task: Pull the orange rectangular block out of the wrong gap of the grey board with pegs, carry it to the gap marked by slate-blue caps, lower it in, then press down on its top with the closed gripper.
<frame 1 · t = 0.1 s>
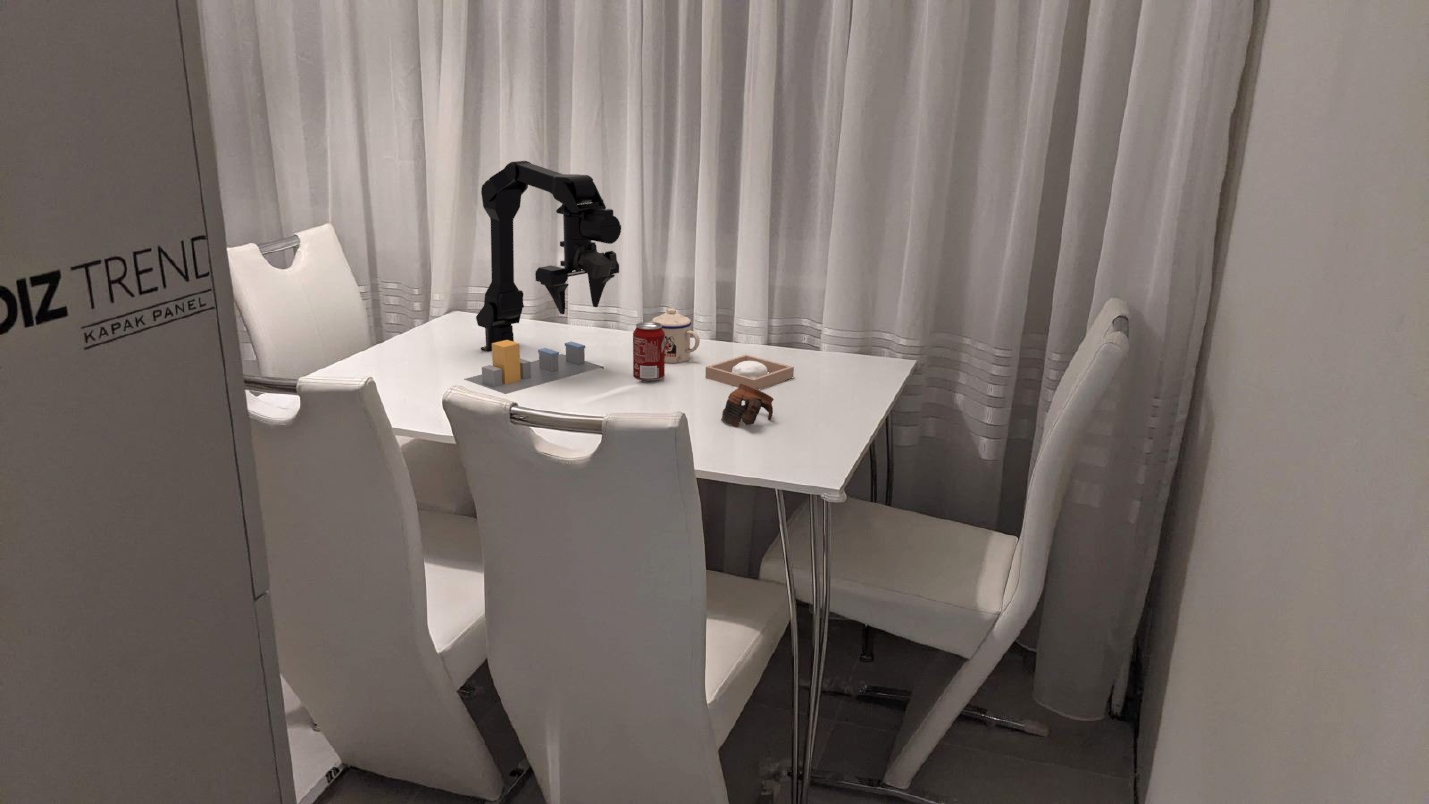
hand: (579, 310, 226), 15 cm above the table, fingers open, 9 cm apart
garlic: (748, 379, 233), resting in garlic dish
grey board with pegs: (535, 377, 230), on the table
garlic dish: (749, 377, 232), on the table
soda can: (648, 379, 230), on the table
teacup with lid: (676, 360, 245), on the table
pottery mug: (747, 423, 206), on the table
orange rectangular block: (507, 380, 224), point 1 cm above the table, touching grey board with pegs
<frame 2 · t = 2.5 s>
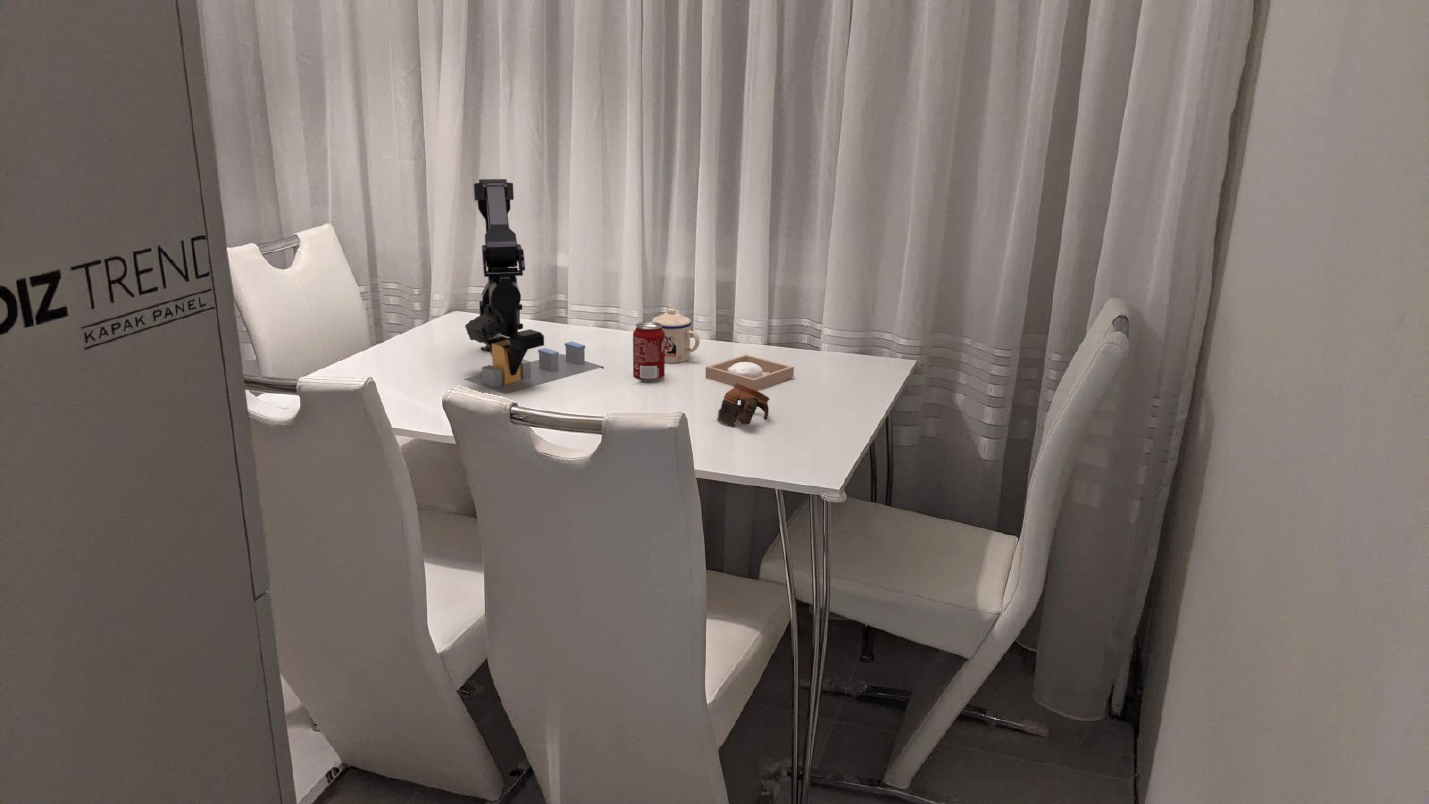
hand: (506, 372, 224), 3 cm above the table, fingers closed on orange rectangular block, 4 cm apart
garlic: (743, 381, 232), resting in garlic dish
orange rectangular block: (507, 380, 224), point 1 cm above the table, touching grey board with pegs, gripper
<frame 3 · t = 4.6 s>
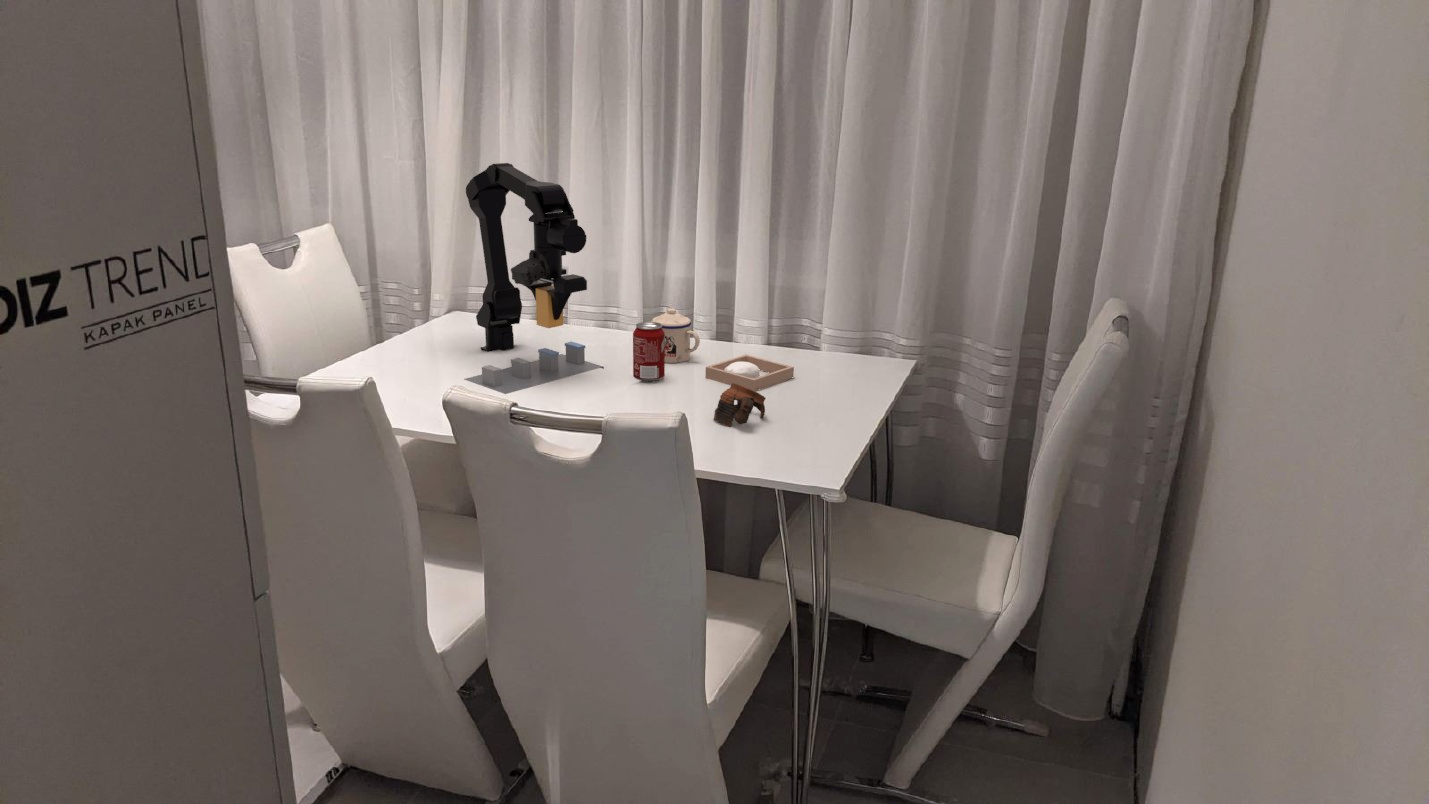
hand: (549, 317, 229), 12 cm above the table, fingers closed on orange rectangular block, 4 cm apart
orange rectangular block: (549, 324, 230), point 11 cm above the table, touching gripper
when the fingers open (4 cm above the table, at t = 6.7 s): orange rectangular block drops 1 cm, resting on grey board with pegs.
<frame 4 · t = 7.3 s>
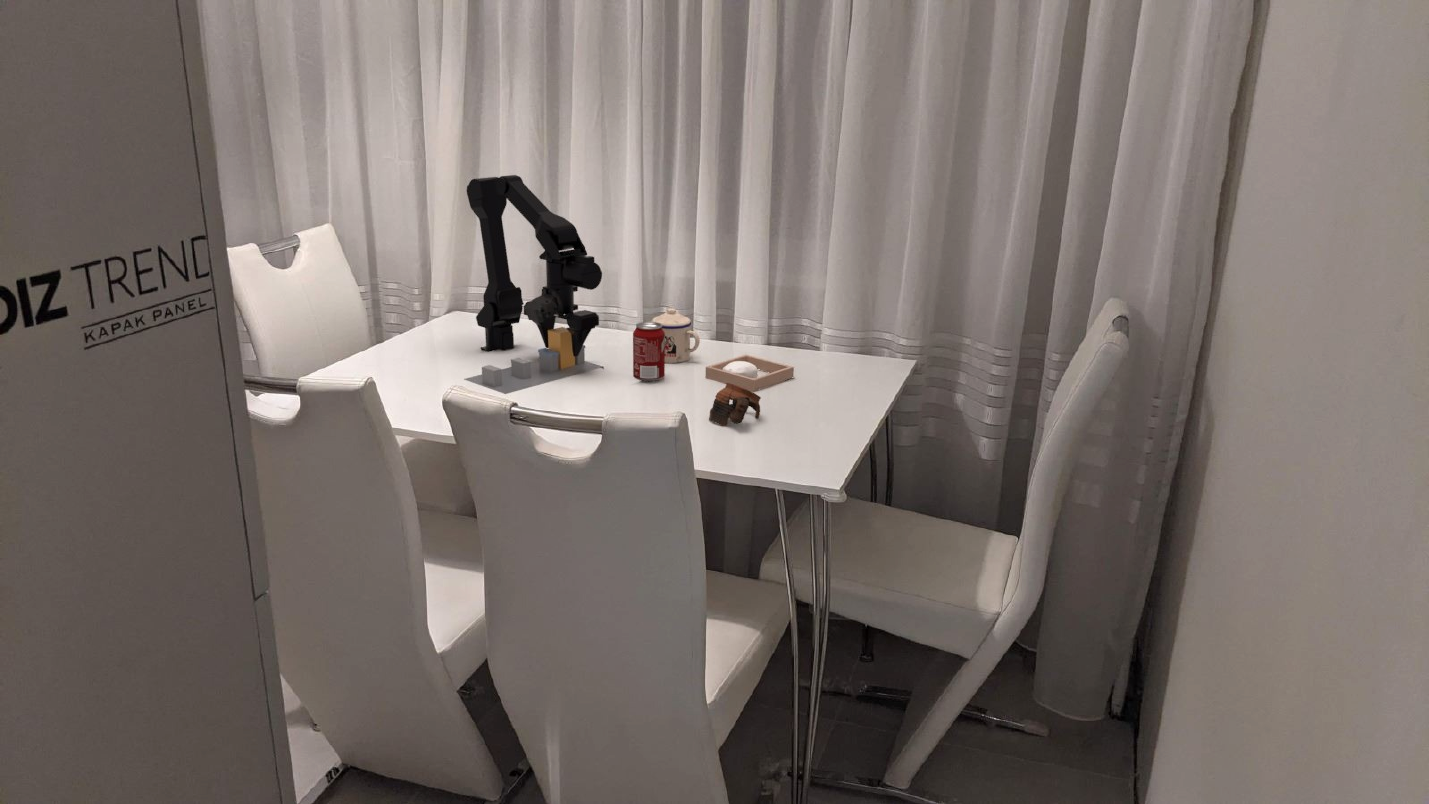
hand: (561, 351, 234), 4 cm above the table, fingers open, 9 cm apart
orange rectangular block: (562, 365, 235), point 1 cm above the table, touching grey board with pegs
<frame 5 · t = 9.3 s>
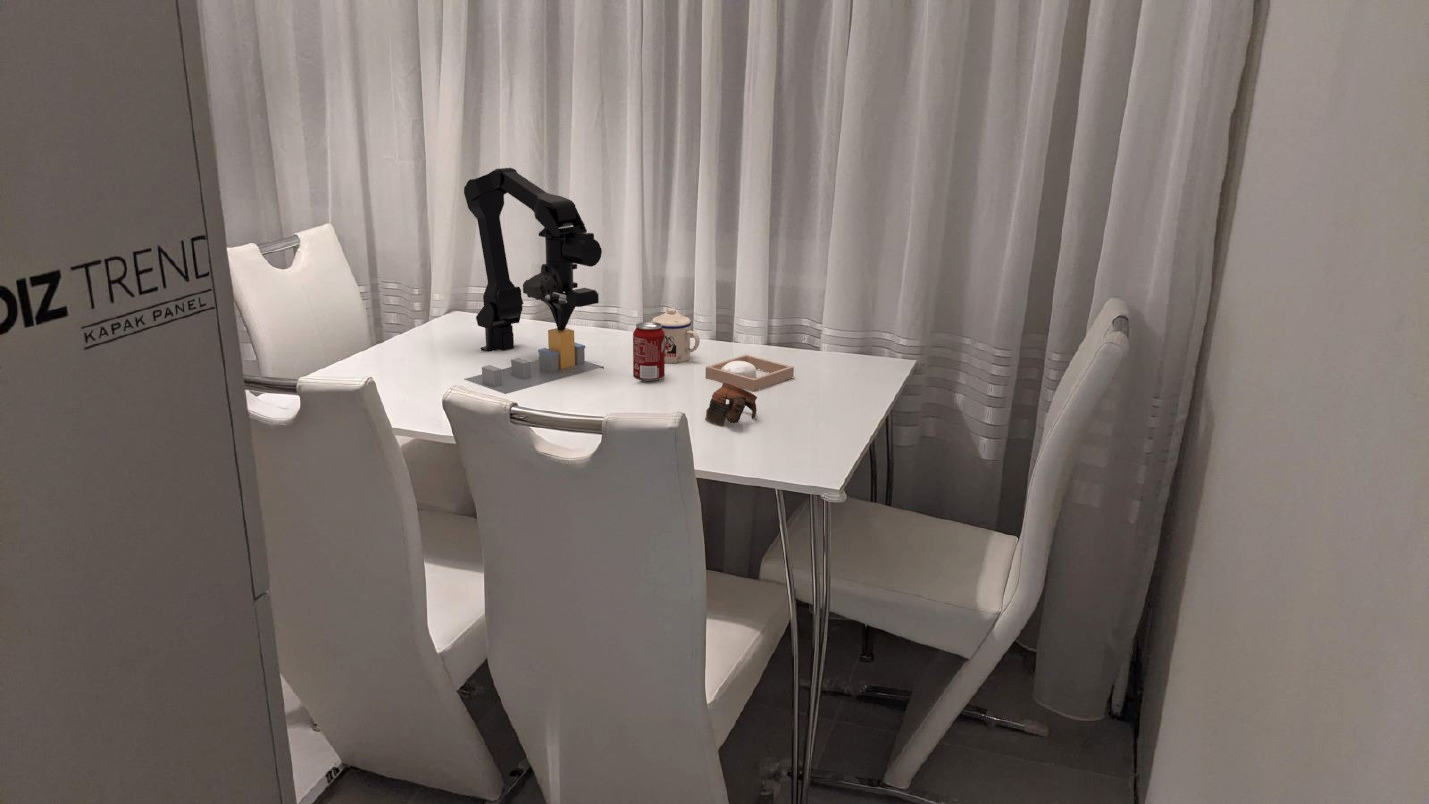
hand: (561, 330, 232), 9 cm above the table, fingers closed, pressing on orange rectangular block
orange rectangular block: (562, 365, 235), point 1 cm above the table, touching grey board with pegs, gripper
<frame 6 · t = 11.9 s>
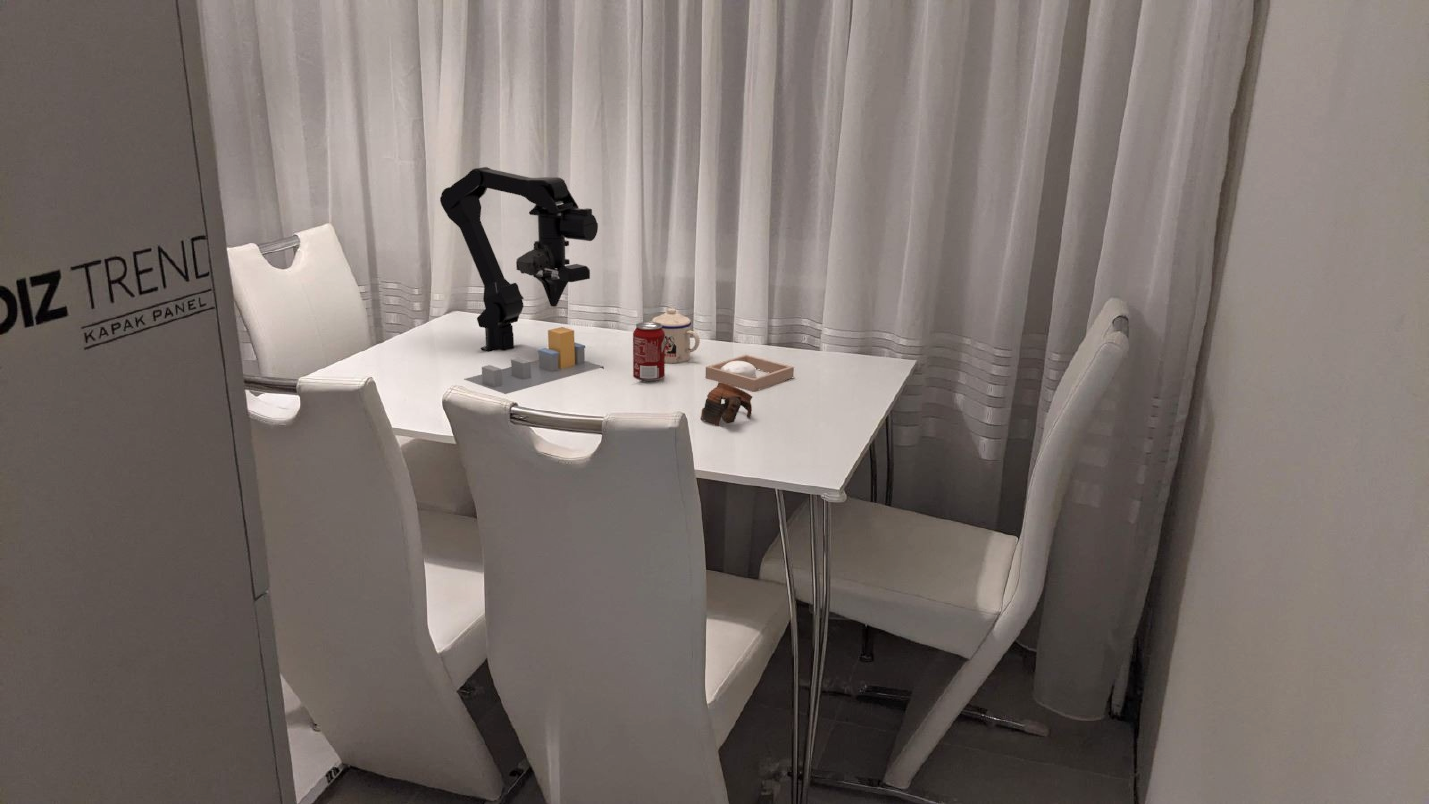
hand: (553, 306, 238), 13 cm above the table, fingers closed
orange rectangular block: (562, 365, 235), point 1 cm above the table, touching grey board with pegs
at the end: orange rectangular block 0.1 cm from the target spot on the grey board with pegs, point 1.0 cm above the grey board with pegs's base; orange rectangular block tilted 0°; the gripper is holding nothing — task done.
